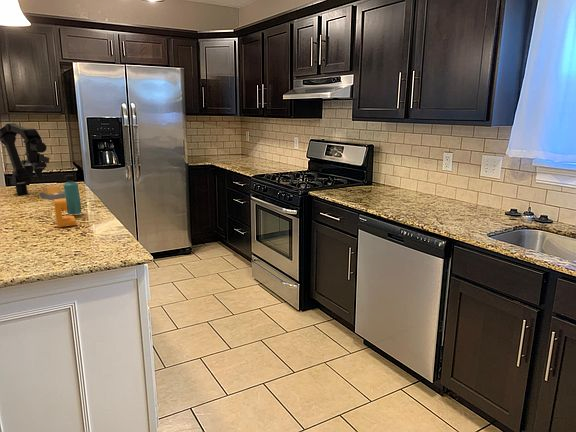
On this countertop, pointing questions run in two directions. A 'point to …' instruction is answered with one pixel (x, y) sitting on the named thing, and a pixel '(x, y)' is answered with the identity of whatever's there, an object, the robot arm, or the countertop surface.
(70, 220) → the bracket
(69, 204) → the beverage bottle
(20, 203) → the countertop surface
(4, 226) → the countertop surface
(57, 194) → the panel
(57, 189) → the cap
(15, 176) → the robot arm
